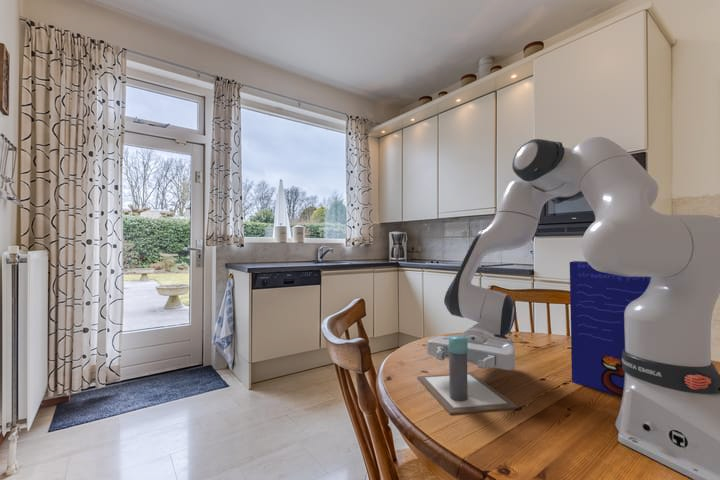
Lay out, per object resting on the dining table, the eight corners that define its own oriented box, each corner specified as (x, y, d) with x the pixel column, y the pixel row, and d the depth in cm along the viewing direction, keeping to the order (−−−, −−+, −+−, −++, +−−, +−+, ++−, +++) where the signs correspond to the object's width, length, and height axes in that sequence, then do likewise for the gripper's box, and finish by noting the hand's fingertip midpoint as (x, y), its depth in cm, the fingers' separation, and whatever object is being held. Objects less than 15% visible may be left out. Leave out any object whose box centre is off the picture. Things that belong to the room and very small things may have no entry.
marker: (471, 400, 70) (470, 339, 71) (454, 402, 70) (453, 340, 70) (462, 392, 74) (462, 334, 75) (445, 394, 74) (445, 335, 74)
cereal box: (701, 409, 68) (697, 263, 69) (695, 418, 65) (691, 264, 65) (581, 376, 86) (579, 260, 86) (571, 382, 82) (569, 261, 83)
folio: (517, 408, 68) (517, 405, 69) (450, 414, 66) (450, 411, 66) (471, 374, 87) (471, 371, 87) (417, 378, 85) (417, 375, 85)
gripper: (437, 327, 91) (416, 338, 79) (519, 339, 79) (508, 354, 67) (438, 351, 90) (416, 365, 79) (520, 366, 79) (508, 385, 67)
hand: (459, 360), depth 73 cm, fingers open, 8 cm apart
